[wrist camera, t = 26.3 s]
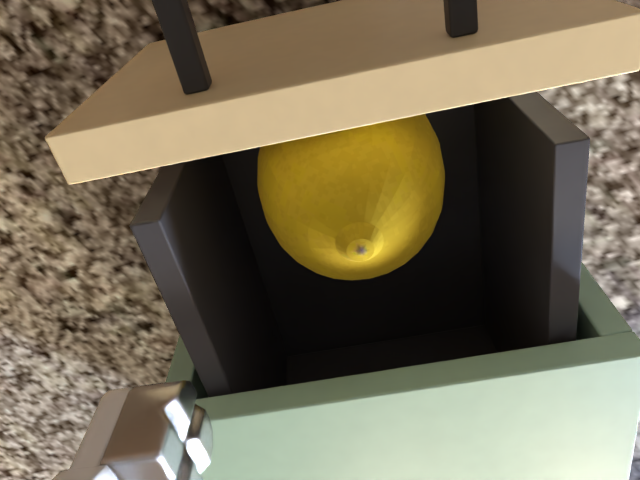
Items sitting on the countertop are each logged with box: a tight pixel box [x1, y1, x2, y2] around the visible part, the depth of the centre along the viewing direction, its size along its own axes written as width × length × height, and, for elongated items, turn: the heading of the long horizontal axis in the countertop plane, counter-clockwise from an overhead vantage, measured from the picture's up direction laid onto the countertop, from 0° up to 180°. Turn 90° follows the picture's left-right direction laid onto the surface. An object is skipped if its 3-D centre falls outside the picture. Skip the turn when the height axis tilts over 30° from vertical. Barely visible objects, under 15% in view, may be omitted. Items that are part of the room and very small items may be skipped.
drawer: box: [45, 0, 640, 397], centre depth 18 cm, size 20×13×9 cm, turn 12°
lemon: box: [257, 114, 445, 280], centre depth 16 cm, size 6×6×8 cm
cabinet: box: [165, 262, 640, 480], centre depth 24 cm, size 17×14×11 cm
